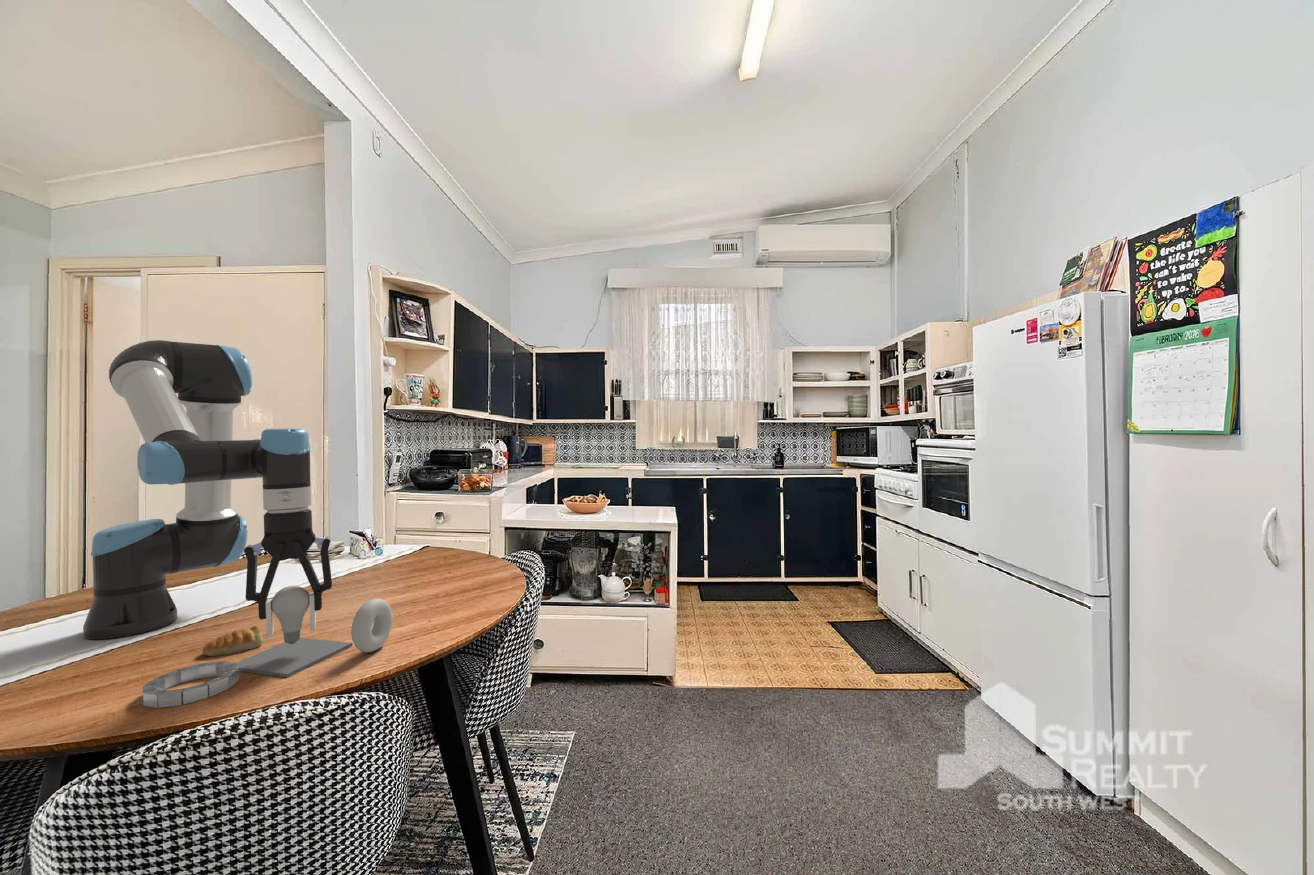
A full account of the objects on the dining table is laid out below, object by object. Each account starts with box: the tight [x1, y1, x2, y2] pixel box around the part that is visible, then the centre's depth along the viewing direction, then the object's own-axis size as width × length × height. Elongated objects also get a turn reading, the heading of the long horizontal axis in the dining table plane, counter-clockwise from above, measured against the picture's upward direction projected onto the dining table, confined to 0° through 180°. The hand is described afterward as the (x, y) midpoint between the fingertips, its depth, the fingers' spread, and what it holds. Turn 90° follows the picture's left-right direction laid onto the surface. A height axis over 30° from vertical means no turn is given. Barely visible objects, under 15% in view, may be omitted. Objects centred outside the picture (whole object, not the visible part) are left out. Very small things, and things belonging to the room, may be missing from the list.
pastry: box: [202, 624, 264, 657], centre depth 107 cm, size 9×7×4 cm
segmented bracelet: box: [142, 660, 240, 709], centre depth 90 cm, size 12×12×2 cm
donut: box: [350, 597, 393, 654], centre depth 104 cm, size 10×4×10 cm, turn 174°
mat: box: [235, 637, 354, 678], centre depth 102 cm, size 14×14×1 cm
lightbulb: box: [271, 585, 310, 644], centre depth 102 cm, size 6×6×11 cm
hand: (292, 631), depth 102 cm, fingers closed on lightbulb, 6 cm apart
